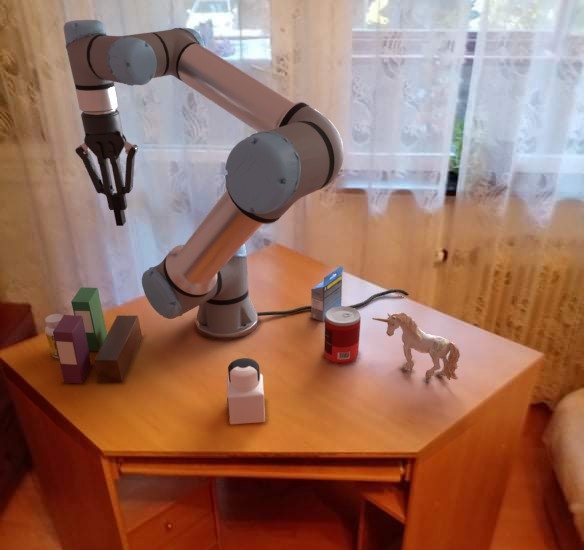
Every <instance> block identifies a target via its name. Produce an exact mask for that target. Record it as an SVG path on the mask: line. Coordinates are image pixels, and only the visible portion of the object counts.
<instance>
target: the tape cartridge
mask: <svg viewBox="0 0 584 550" xmlns="http://www.w3.org/2000/svg"><path fill="white" fill-rule="evenodd" d="M343 270H344V264H341V266H339V267H337V268H336V269H335V270H333V271H332V272H330V273H328V274H327V275H326V276H324V277H323V280H322V281H321V282H319V283H318V284H316V285H315V286H314V287H312V288H311V291H310V294H311V295H310V300H311V301H310V303H311V304H310V306H311V309H310V318H311V319H313V320H316V321H319V322H325V314H326V312H327V311H328V310H329V309H331V308H334V307H340V306H342V294H343V293H342V292H343V290H342V289H343V272H344V271H343Z"/></svg>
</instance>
